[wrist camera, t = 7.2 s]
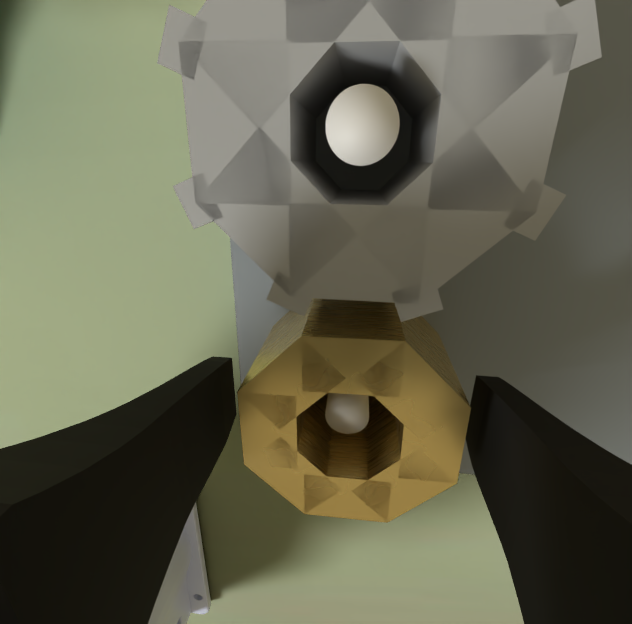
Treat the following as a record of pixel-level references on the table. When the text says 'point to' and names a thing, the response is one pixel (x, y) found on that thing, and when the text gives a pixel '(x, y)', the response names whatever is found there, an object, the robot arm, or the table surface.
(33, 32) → the table surface
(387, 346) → the brass gear
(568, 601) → the robot arm
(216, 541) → the table surface
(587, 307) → the gear board
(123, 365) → the table surface
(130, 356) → the table surface
